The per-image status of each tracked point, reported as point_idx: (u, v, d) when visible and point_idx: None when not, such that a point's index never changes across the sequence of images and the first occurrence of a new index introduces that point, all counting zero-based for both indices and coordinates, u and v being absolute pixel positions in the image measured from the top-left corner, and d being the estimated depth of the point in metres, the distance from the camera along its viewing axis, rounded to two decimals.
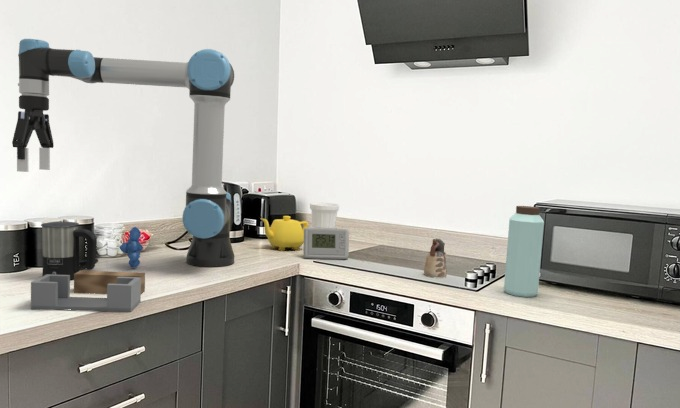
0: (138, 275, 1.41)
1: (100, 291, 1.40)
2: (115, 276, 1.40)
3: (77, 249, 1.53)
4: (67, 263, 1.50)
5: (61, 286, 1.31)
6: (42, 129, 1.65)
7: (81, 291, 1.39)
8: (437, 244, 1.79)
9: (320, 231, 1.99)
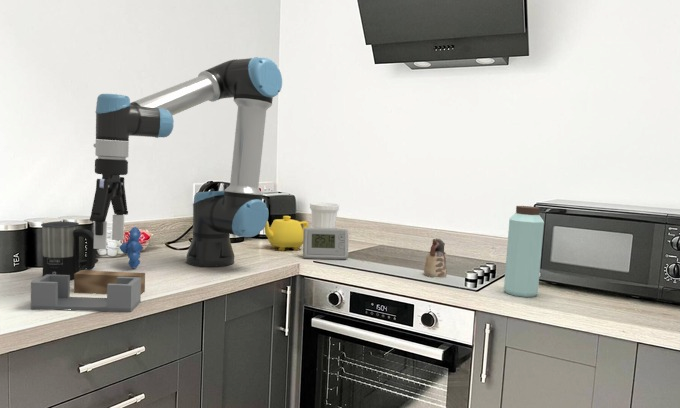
0: (138, 275, 1.41)
1: (99, 291, 1.40)
2: (115, 276, 1.39)
3: (77, 249, 1.53)
4: (67, 262, 1.50)
5: (61, 286, 1.31)
6: (118, 195, 1.42)
7: (81, 291, 1.39)
8: (437, 244, 1.79)
9: (319, 231, 1.99)
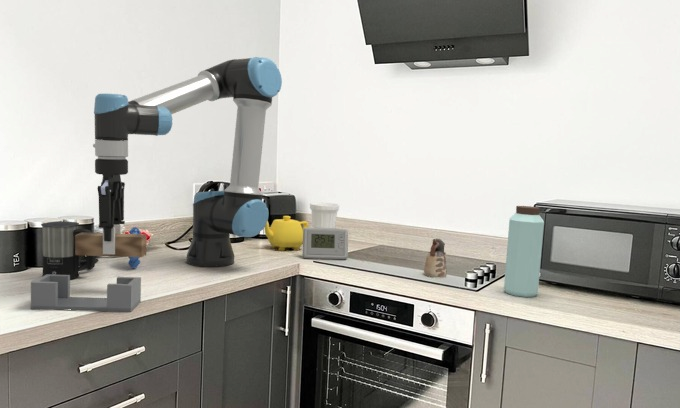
0: (139, 236, 1.40)
1: (101, 252, 1.39)
2: (116, 237, 1.39)
3: None
4: (67, 262, 1.51)
5: (61, 286, 1.31)
6: (117, 197, 1.41)
7: (82, 252, 1.39)
8: (437, 244, 1.79)
9: (319, 231, 1.99)
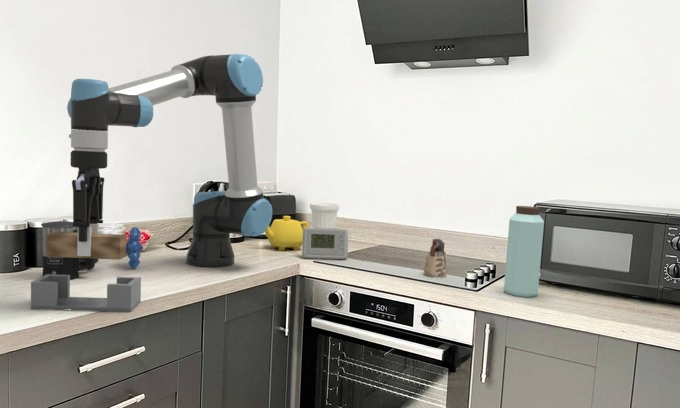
0: (118, 236, 1.27)
1: (75, 253, 1.26)
2: (92, 237, 1.26)
3: None
4: (67, 262, 1.51)
5: (61, 286, 1.31)
6: (95, 193, 1.28)
7: (55, 253, 1.26)
8: (437, 244, 1.79)
9: (319, 231, 1.99)
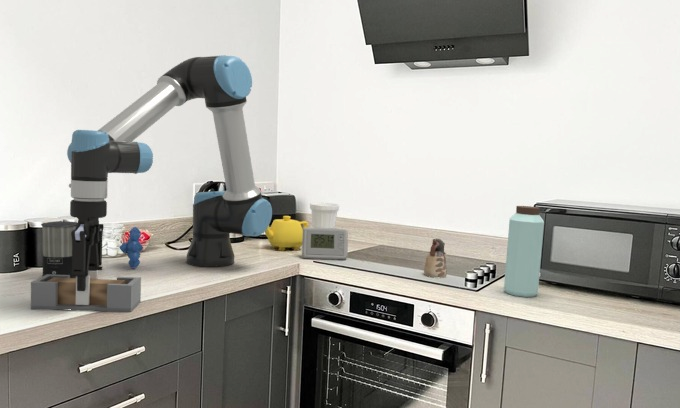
0: (117, 283, 1.28)
1: (74, 300, 1.27)
2: (91, 284, 1.27)
3: None
4: (67, 262, 1.51)
5: None
6: (94, 241, 1.29)
7: None
8: (437, 244, 1.79)
9: (318, 231, 1.99)
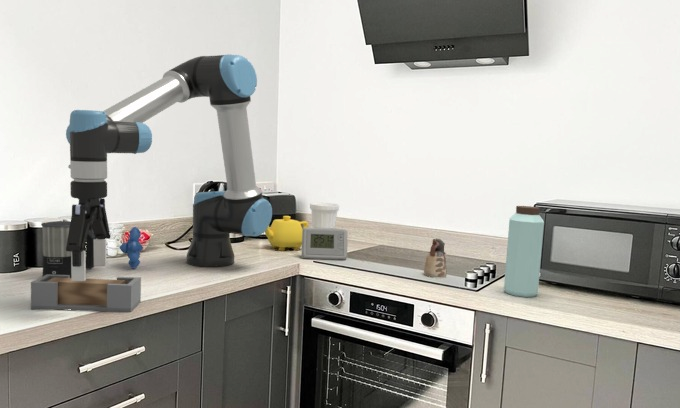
0: (117, 283, 1.28)
1: (74, 300, 1.27)
2: (91, 284, 1.27)
3: None
4: (67, 262, 1.51)
5: None
6: (98, 219, 1.31)
7: None
8: (437, 244, 1.79)
9: (318, 231, 1.99)
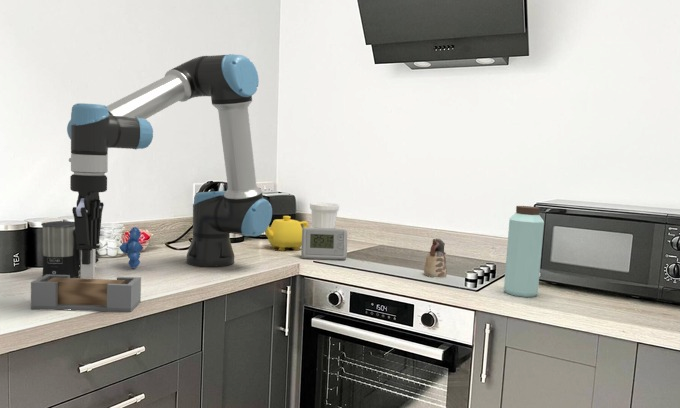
0: (117, 283, 1.28)
1: (74, 300, 1.27)
2: (91, 284, 1.27)
3: None
4: (67, 262, 1.51)
5: None
6: None
7: None
8: (437, 244, 1.79)
9: (318, 231, 1.99)
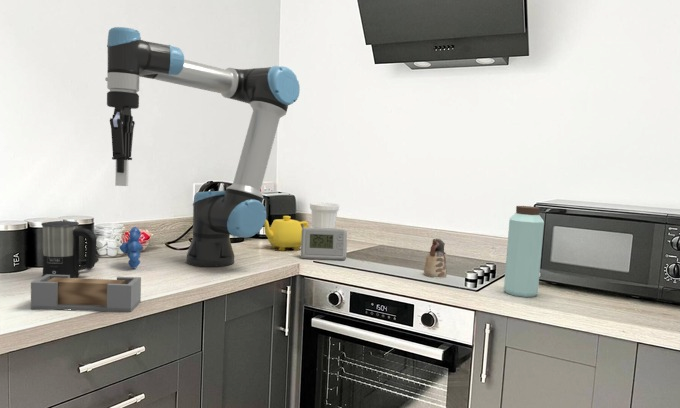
0: (117, 283, 1.28)
1: (74, 300, 1.27)
2: (91, 284, 1.27)
3: (77, 248, 1.54)
4: (66, 262, 1.51)
5: None
6: None
7: None
8: (437, 244, 1.79)
9: (317, 231, 1.98)
